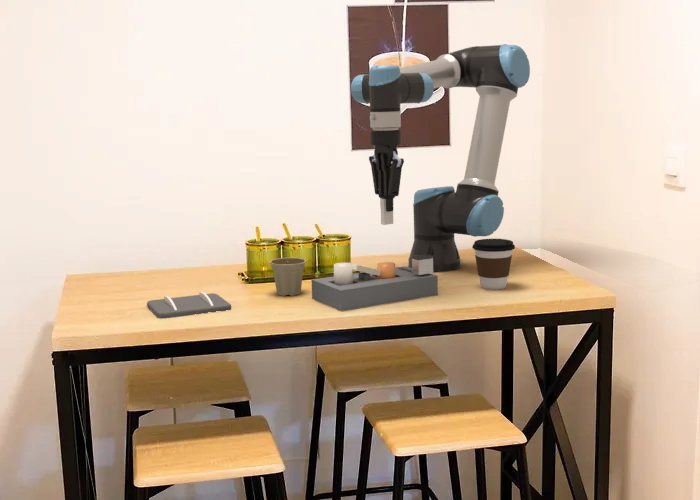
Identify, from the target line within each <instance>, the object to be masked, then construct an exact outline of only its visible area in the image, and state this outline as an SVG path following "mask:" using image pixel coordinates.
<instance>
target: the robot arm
mask: <svg viewBox="0 0 700 500" xmlns="http://www.w3.org/2000/svg"><path fill="white" fill-rule="evenodd" d="M529 60H530V59H529V58H528V55H527V53H526V52H525V50H524V49H523V48H522V47H521V46H519V45H517V44H505V43H504V44H497V45H496V44H495V45H481V46H480V45H479V46H478V45H477V46H476V45H475V46H470V47H466V48H462V49H459V50H456V51H452V52H450V53H449V52H448V53H446V54H445V53H444V54H441V55H439V56H438V57H437V58H436V59H434V60H430V61H424V62H420V63H416V64H412V65H409V66H408V65H407V66H403V67H400V66H399V65H398V64H393V65H392V64H391V65H389V64H387V65H385V64H382V65H379V64H378V65H372V66H371V67H370V68H369V74H368V73H364V74H358V75H357V76H355V77H353V79H352V82H351V86H350V91H351V95H352V98H353V99H354V101H355V102H357V103H359V104H366V105H369V123H370V125H369V127H370V128H371V129H372V130H370V133H369V136H370V141H369V142H370V145H371V146H373V147H374V150H373V152H374V154H373V155H372V156H371V155H370V156H368V161H369V163H370V167H371V168H370V169H371V173H372V175H371V176H372V183H373V188H374V189H373V190H374V194H375V195H377V196H378V198H379V199H380V200H379V201H380V206H379V207H380V224H381V225H383V226H386V225H394V199H395V197H399V195H400V186H401V177H402V170H403V169H402V168H403V166H404V162H405V160H404V158H400V157H399V156H398V155H399V152H398V148H397V147H398V146H399V145H401V144H402V131H401V130H400V129H399V128H401V126H402V122H401V121H402V119H401V117H402V115H401V114H402V113H401V104H421V103H425V102H427V101H429V100H431V98H432V96H433V94H434V90H435V89H438V88H441V87H442V88H445V89H452V88H475V91H476V93H477V94H478V96H479V98H478V104H477V109H476V113H475V120H474V125H473V130H472V136H471V141H470V147H469V151H468V155H467V161H466V166H465V167H466V168H465V172H464V178H463V180H461V181H460V182H458V183H457V186H456V189H455V187H454V186H450V185H449V186H448V185H447V186H436V187H430V188H423V189H418V190H416V191H415V192H414V194H413V195H414V196H413V204H412V206H413V207H412V208H413V237H414V238H413V243H412V247H411V250H410V253H409V257H408V259H407V260H408V263H407V264H408V267H409V268H412V258H411V256H413V255H420V254H430V255H434V258H433V272H446V271H447V272H448V271H453V270H458V269H459V268H461V263H462V262H461V259H462V258H461V256H460V254H459V251H458V246H457V245H456V244H457V243H456V240H455V234H456V235H464V236H471V237H488V236H491V235H492V234H494V233H495V232H496V231H497V230H498V229H499V227H500V226H501V223H502V221H503V218H504V214H505V207H504V202H503V199H501V197H500V196H499V189H498V188H497V187H496V178H497V172H498V167H499V163H500V157H501V152H502V145H503V140H504V135H505V132H506V131H505V130H506V125H507V119H508V115H509V114H508V113H509V109H510V104H511V102H512V101H513V100H514V99H516V98H517V96H518V91H519V89H520V88H523V87H524V86H526V84H527V83H528V82H529V80H530V79H529V78H530V74H531V65H530V61H529Z"/></svg>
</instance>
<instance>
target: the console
mask: <svg viewBox="0 0 700 500" xmlns="http://www.w3.org/2000/svg"><path fill="white" fill-rule="evenodd" d="M395 273H396V277H395V278H388V279H381V278H378V277H377V275H374V274H370V273H365V272H361V271H360V272H355V273H353V284H348V285H341V286H338V285H336V284H334V275H333V276H327V277H326V276H325V277H319V278H313V279H311V299H312V300H313V299H314V300H313V301H316V302H318V301H319V302H318V303H321V304H323V303H324V304H323V305H326V306H328V305H329V306H328V307H330V306H331V308H334V309H335V308H336V310H338V311H340V312H343V311H349V310H355V309H362V308H367V307H374V306H379V305H385V304H392V303H398V302H404V301H410V300H417V299H422V298H428V297H436V296H438V294H439V293H438V292H439V291H438V290H439V288H438V286H439V281H438V277H439V276H438V275H436V274H433V273H430V274H423V275H417V274H413V273H412V268H409V266H398V267H397V266H395ZM361 307H362V308H361Z"/></svg>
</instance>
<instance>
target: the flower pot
mask: <svg viewBox="0 0 700 500" xmlns="http://www.w3.org/2000/svg"><path fill="white" fill-rule="evenodd" d="M306 263H307V260H306V259H304V258H301V257H281V258H274V259H271V260H269V264H270V265H271V269H272V270H273V277H274V283H275V289H276V294H277V295H278V296H283V297H286V296H297V295H300V294H301V293H302V284H303V275H304V274H303V273H304V269H305V265H306Z"/></svg>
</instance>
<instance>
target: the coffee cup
mask: <svg viewBox="0 0 700 500" xmlns="http://www.w3.org/2000/svg"><path fill="white" fill-rule="evenodd" d="M515 248H516V245H515V244H514V242H513V241H512V240H510V239H506V238H482V239H478V240H475V241H473V244H472V249H473V250H474V251H475V255H474V257H475V261H476V262H475V263H476V270H477V276H478V278H479V283H480V286H481V289H482V288H483V289H484V290H491V291H492V290H493V291H496V290H504V289H505V288H506V286H507V284H508V277H509V273H510V269H511V262H512V257H513V255H512V254H513V253H512V252H513V250H514V249H515Z"/></svg>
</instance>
